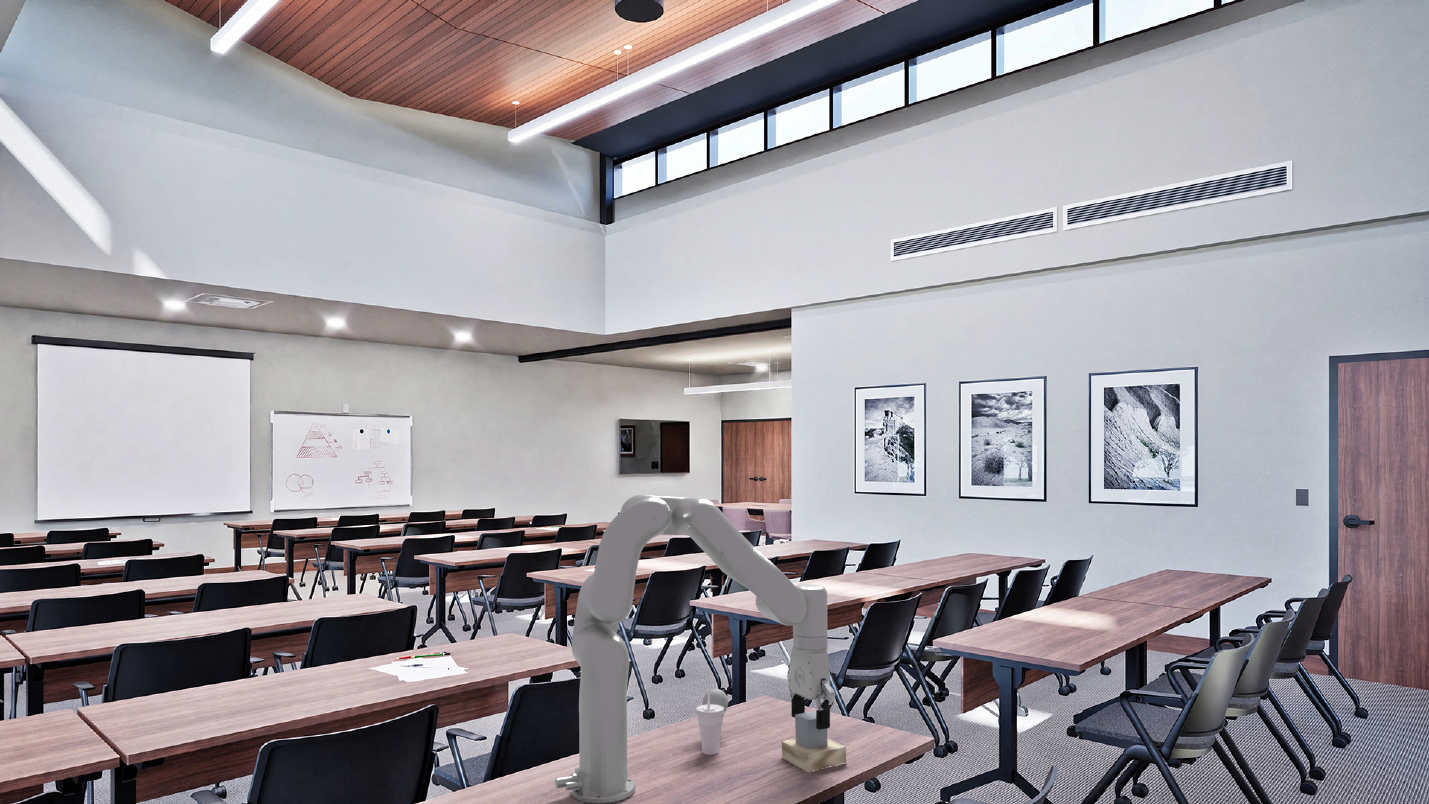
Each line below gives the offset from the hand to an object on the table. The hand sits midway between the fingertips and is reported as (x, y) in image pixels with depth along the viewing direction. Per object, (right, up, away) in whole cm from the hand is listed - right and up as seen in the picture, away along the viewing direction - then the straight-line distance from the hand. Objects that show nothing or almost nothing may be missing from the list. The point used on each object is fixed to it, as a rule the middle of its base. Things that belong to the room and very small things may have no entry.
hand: (810, 722), depth 184 cm
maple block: (+1, -9, 0) cm, 9 cm away
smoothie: (-22, -9, +6) cm, 24 cm away
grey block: (0, -5, 0) cm, 5 cm away
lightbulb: (-21, -10, +17) cm, 28 cm away
